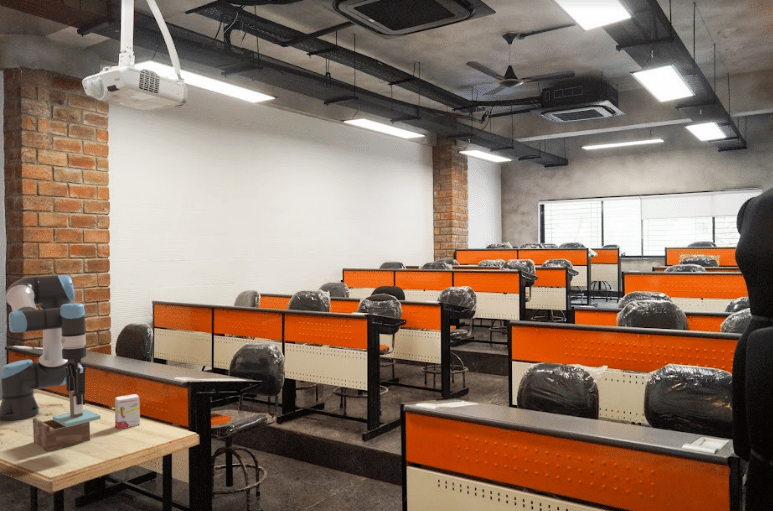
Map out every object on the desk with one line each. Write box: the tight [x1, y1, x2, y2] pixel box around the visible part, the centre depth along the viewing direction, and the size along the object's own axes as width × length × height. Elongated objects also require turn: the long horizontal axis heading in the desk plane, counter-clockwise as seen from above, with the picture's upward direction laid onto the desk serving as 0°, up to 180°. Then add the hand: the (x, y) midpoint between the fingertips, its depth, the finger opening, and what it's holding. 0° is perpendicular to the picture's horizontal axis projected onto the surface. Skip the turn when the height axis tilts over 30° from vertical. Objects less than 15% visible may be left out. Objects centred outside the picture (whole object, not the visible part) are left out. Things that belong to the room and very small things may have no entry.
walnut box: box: [32, 417, 91, 452], centre depth 214 cm, size 15×14×9 cm
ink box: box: [114, 393, 141, 430], centre depth 231 cm, size 9×5×12 cm, turn 127°
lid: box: [52, 390, 101, 427], centre depth 203 cm, size 13×11×10 cm
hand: (76, 412), depth 203 cm, fingers closed on lid, 3 cm apart
